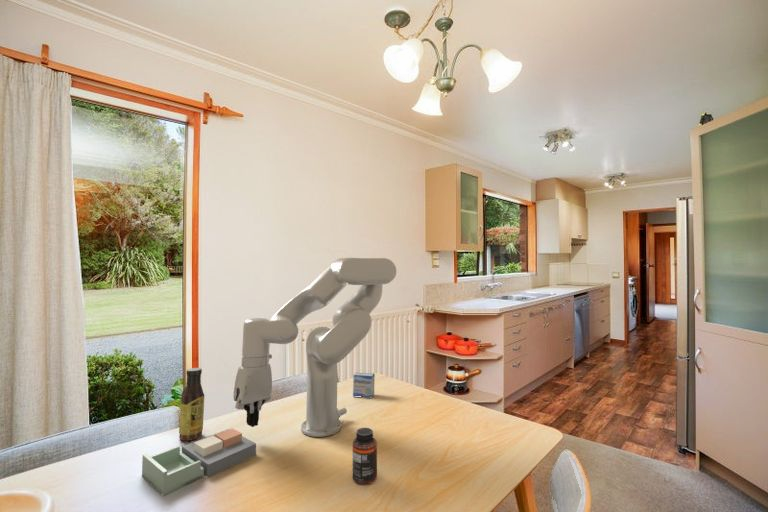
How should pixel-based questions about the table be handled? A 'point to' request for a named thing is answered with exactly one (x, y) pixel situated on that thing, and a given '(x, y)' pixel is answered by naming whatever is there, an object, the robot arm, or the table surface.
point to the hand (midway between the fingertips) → (252, 424)
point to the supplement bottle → (364, 457)
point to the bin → (170, 470)
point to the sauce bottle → (192, 407)
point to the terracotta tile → (229, 437)
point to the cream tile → (208, 445)
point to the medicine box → (363, 384)
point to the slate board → (222, 455)
